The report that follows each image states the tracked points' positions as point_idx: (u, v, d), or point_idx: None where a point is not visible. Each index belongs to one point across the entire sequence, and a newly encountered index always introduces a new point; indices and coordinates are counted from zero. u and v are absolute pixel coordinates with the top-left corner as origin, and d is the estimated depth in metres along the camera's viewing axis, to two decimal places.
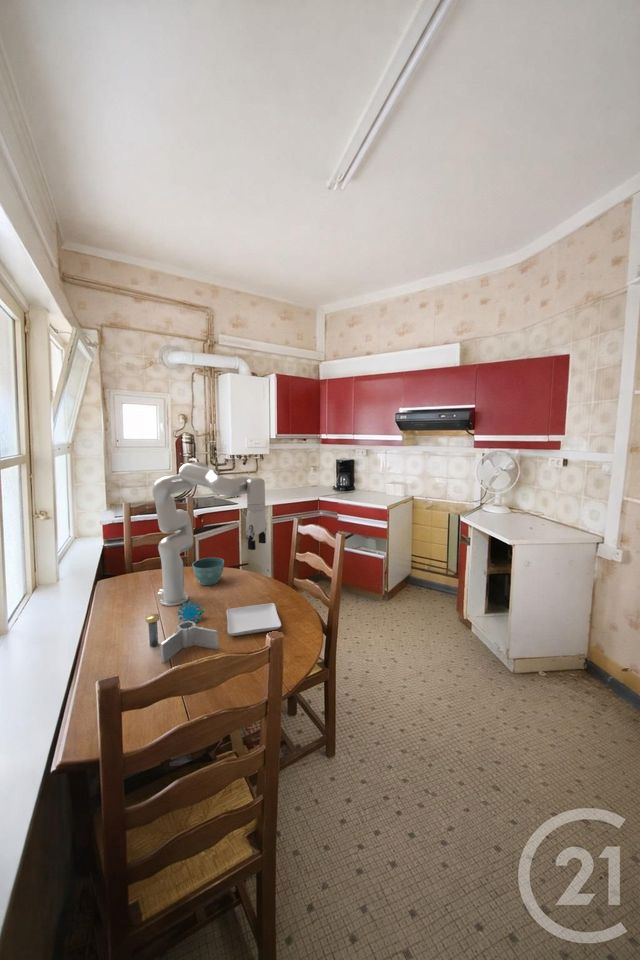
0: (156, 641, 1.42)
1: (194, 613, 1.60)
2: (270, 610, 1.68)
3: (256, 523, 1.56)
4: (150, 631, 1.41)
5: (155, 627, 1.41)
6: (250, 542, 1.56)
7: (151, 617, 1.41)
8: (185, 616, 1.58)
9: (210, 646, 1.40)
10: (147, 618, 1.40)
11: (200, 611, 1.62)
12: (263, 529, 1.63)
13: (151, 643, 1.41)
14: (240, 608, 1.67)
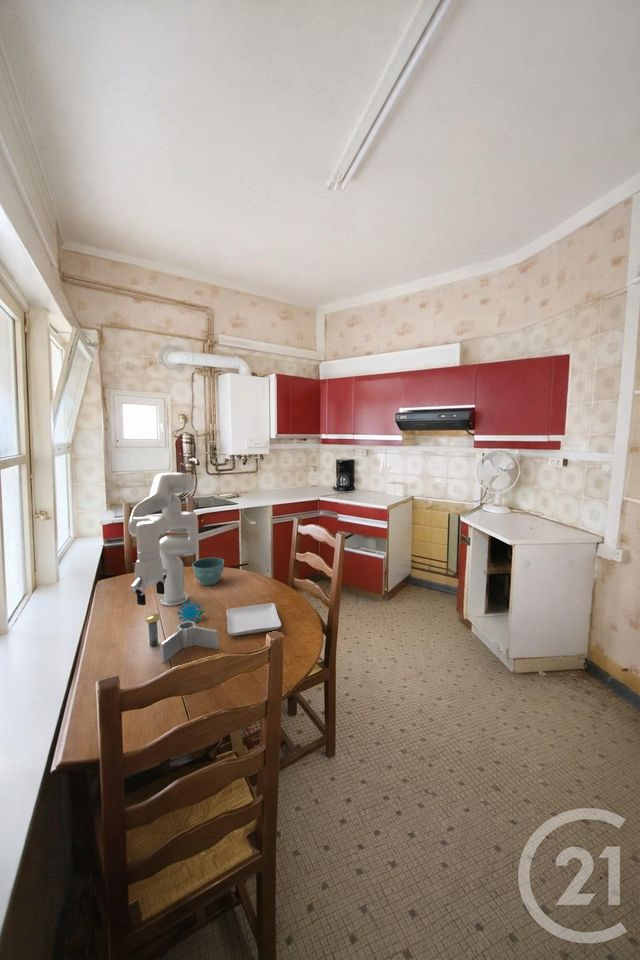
0: (156, 641, 1.42)
1: (194, 613, 1.61)
2: (270, 610, 1.68)
3: (145, 574, 1.34)
4: (150, 631, 1.41)
5: (155, 627, 1.41)
6: (138, 596, 1.34)
7: (151, 617, 1.41)
8: (185, 616, 1.58)
9: (210, 646, 1.40)
10: (147, 618, 1.40)
11: (200, 611, 1.62)
12: (159, 579, 1.41)
13: (151, 643, 1.41)
14: (240, 608, 1.67)
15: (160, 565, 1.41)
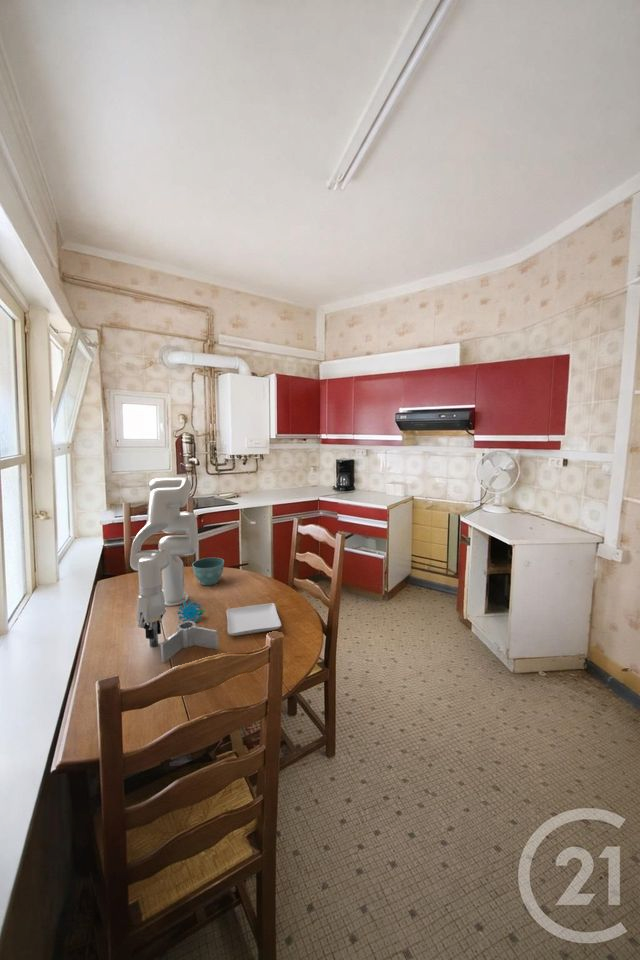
0: (156, 641, 1.42)
1: (194, 613, 1.61)
2: (270, 610, 1.68)
3: (147, 610, 1.36)
4: None
5: (155, 627, 1.41)
6: (147, 631, 1.39)
7: None
8: (185, 615, 1.59)
9: (210, 646, 1.40)
10: None
11: (200, 611, 1.62)
12: (160, 613, 1.43)
13: (152, 643, 1.41)
14: (240, 608, 1.67)
15: (162, 599, 1.43)
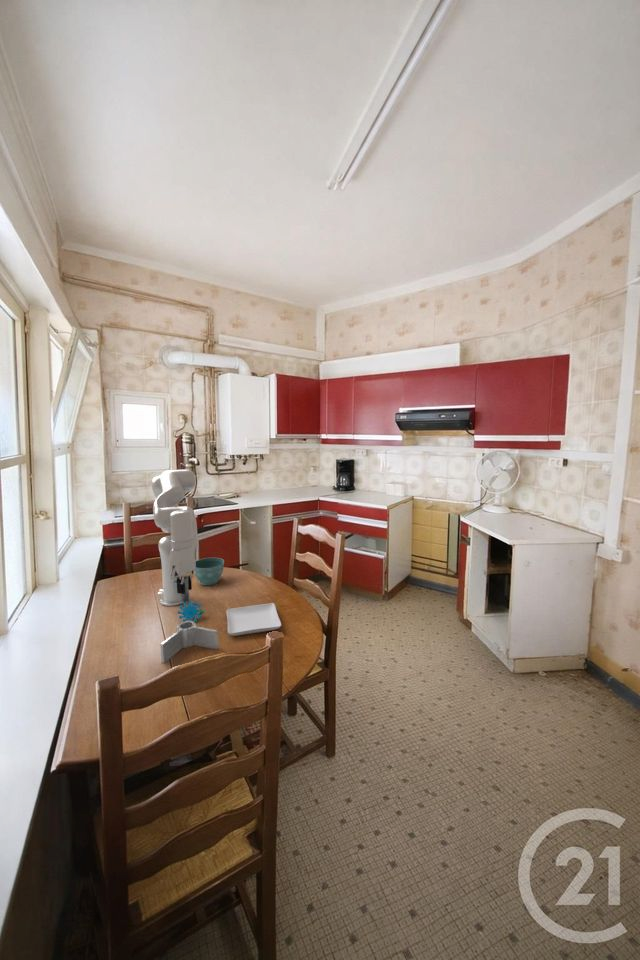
0: (187, 596, 1.41)
1: (194, 612, 1.61)
2: (270, 610, 1.68)
3: (179, 563, 1.35)
4: None
5: (186, 582, 1.40)
6: (179, 585, 1.38)
7: None
8: (185, 615, 1.59)
9: (210, 646, 1.40)
10: None
11: (200, 611, 1.62)
12: (191, 568, 1.42)
13: (183, 598, 1.40)
14: (240, 608, 1.67)
15: (193, 554, 1.42)
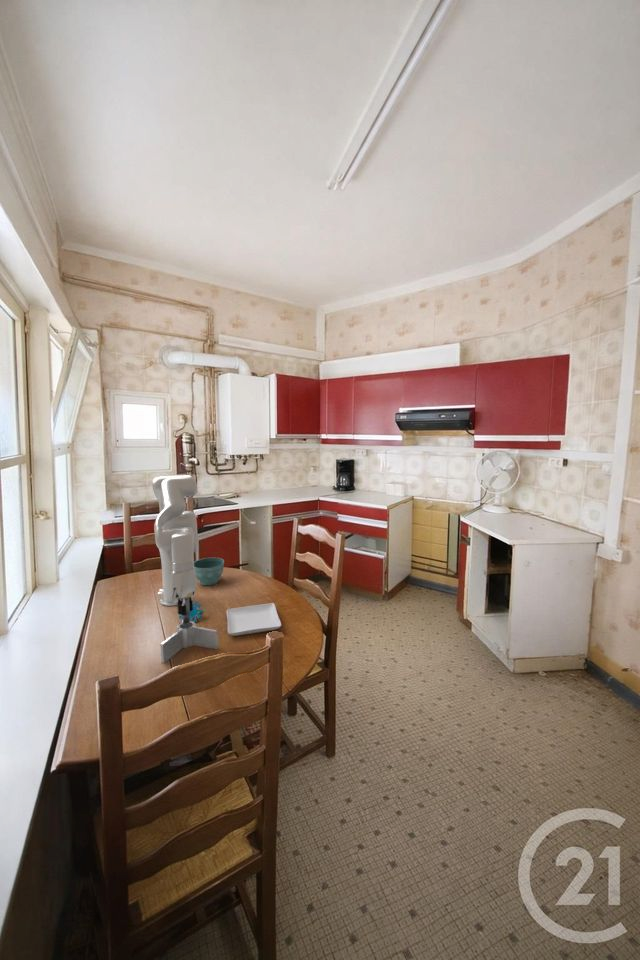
0: (188, 617, 1.42)
1: (194, 612, 1.61)
2: (270, 610, 1.68)
3: (181, 586, 1.36)
4: None
5: (187, 603, 1.41)
6: (180, 607, 1.39)
7: None
8: None
9: (210, 646, 1.40)
10: None
11: (200, 611, 1.62)
12: (192, 589, 1.43)
13: (184, 619, 1.41)
14: (240, 608, 1.67)
15: (194, 576, 1.43)
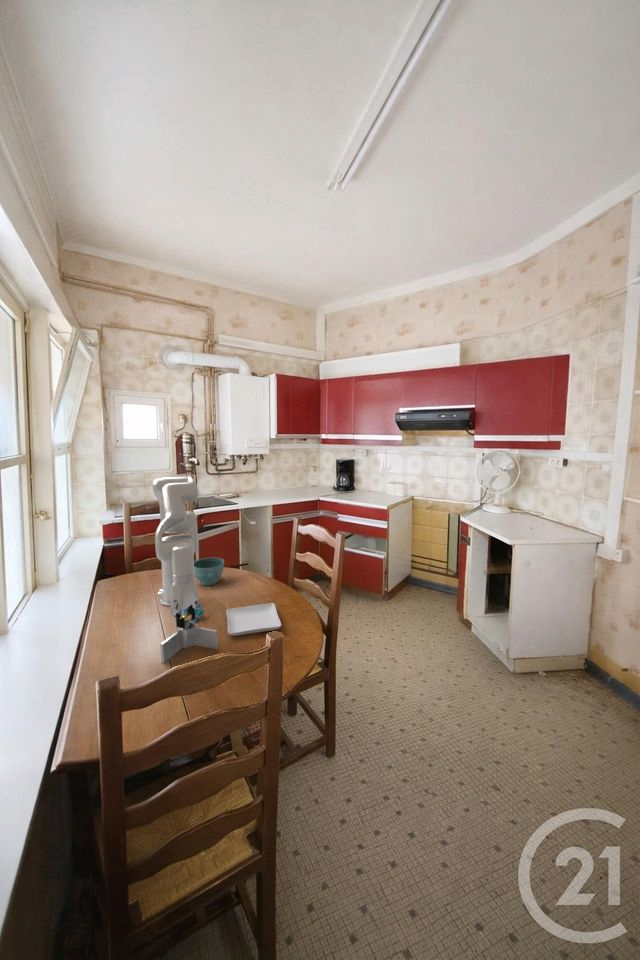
0: None
1: None
2: (270, 610, 1.68)
3: (181, 598, 1.37)
4: None
5: (188, 626, 1.42)
6: (178, 620, 1.39)
7: (183, 616, 1.42)
8: None
9: (210, 646, 1.40)
10: None
11: (200, 610, 1.62)
12: (193, 601, 1.43)
13: None
14: (240, 608, 1.67)
15: (194, 587, 1.44)
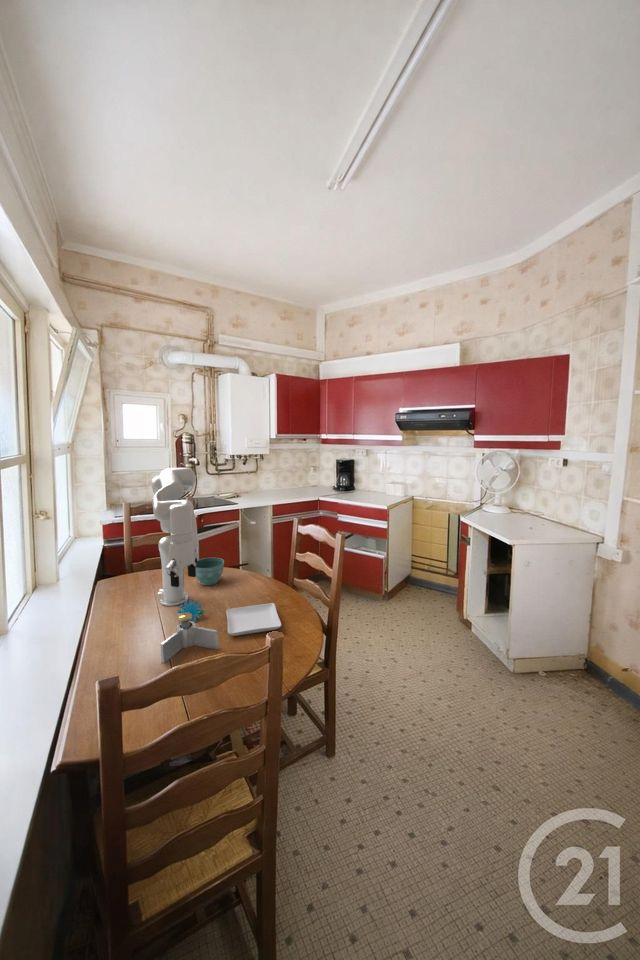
0: None
1: (194, 612, 1.61)
2: (270, 610, 1.68)
3: (179, 556, 1.35)
4: None
5: (188, 625, 1.42)
6: (172, 578, 1.36)
7: (183, 615, 1.42)
8: None
9: (210, 646, 1.40)
10: (180, 616, 1.41)
11: (200, 610, 1.62)
12: (191, 562, 1.42)
13: None
14: (240, 608, 1.67)
15: (192, 548, 1.42)
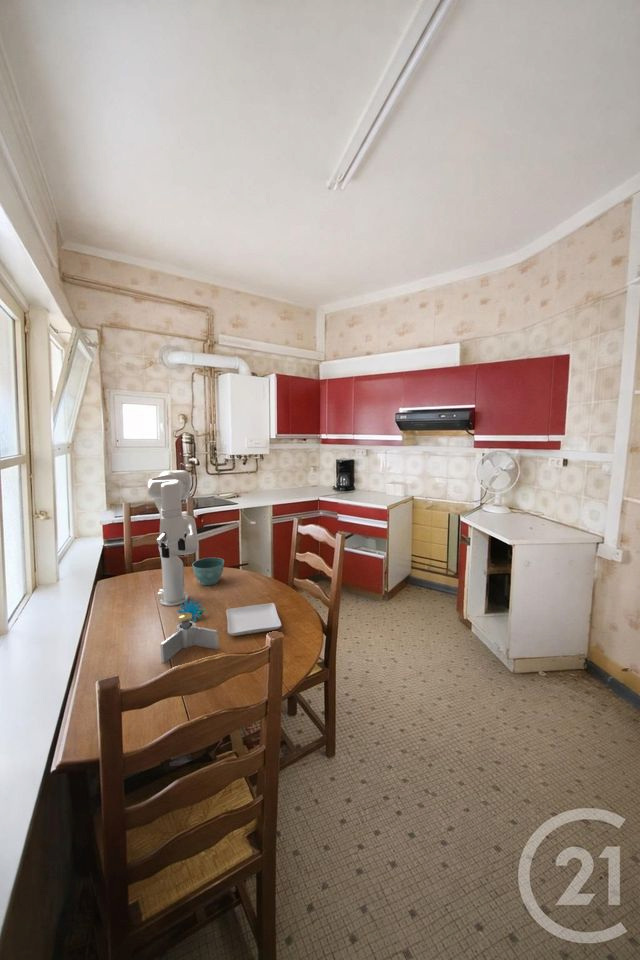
0: None
1: (194, 612, 1.61)
2: (270, 610, 1.68)
3: (169, 530, 1.48)
4: None
5: (188, 625, 1.42)
6: (163, 550, 1.49)
7: (183, 615, 1.42)
8: None
9: (210, 646, 1.40)
10: (180, 616, 1.41)
11: (200, 610, 1.63)
12: (180, 536, 1.55)
13: None
14: (240, 608, 1.67)
15: (182, 523, 1.55)
